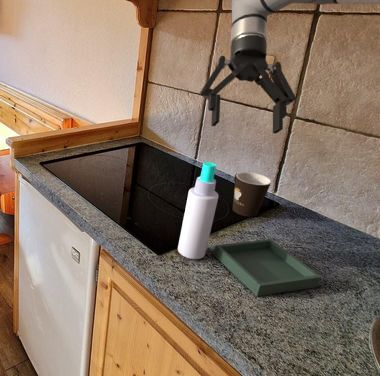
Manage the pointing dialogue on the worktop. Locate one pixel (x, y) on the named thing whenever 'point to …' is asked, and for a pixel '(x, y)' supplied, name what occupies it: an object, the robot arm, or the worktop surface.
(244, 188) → the coffee mug
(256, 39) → the robot arm
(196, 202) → the spray bottle
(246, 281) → the tray
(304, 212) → the worktop surface
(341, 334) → the worktop surface
